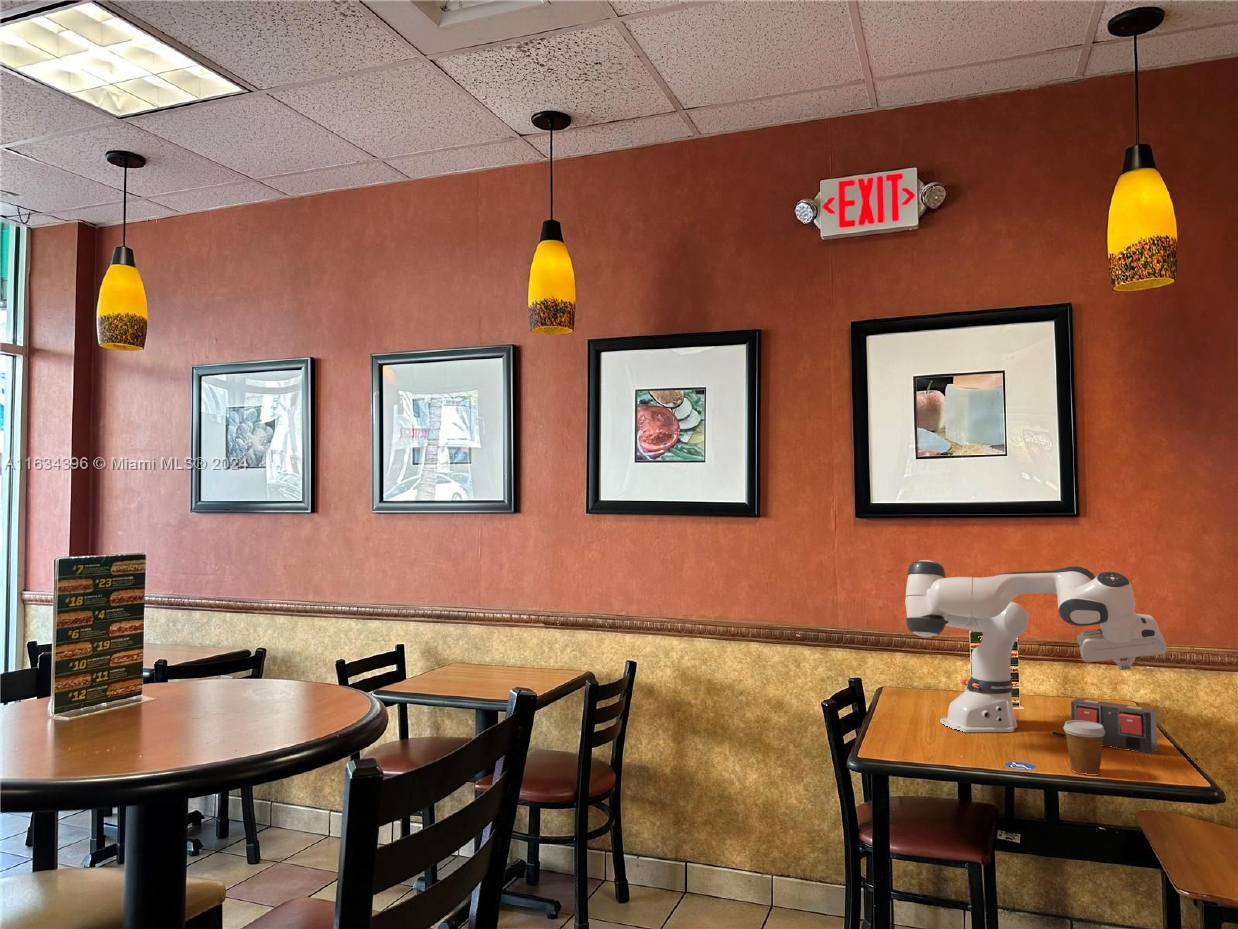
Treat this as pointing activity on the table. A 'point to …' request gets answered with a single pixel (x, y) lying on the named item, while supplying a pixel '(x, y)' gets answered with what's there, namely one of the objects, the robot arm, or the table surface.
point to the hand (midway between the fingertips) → (1125, 668)
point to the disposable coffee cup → (1084, 745)
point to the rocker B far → (1131, 724)
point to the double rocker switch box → (1111, 724)
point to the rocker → (1087, 714)
